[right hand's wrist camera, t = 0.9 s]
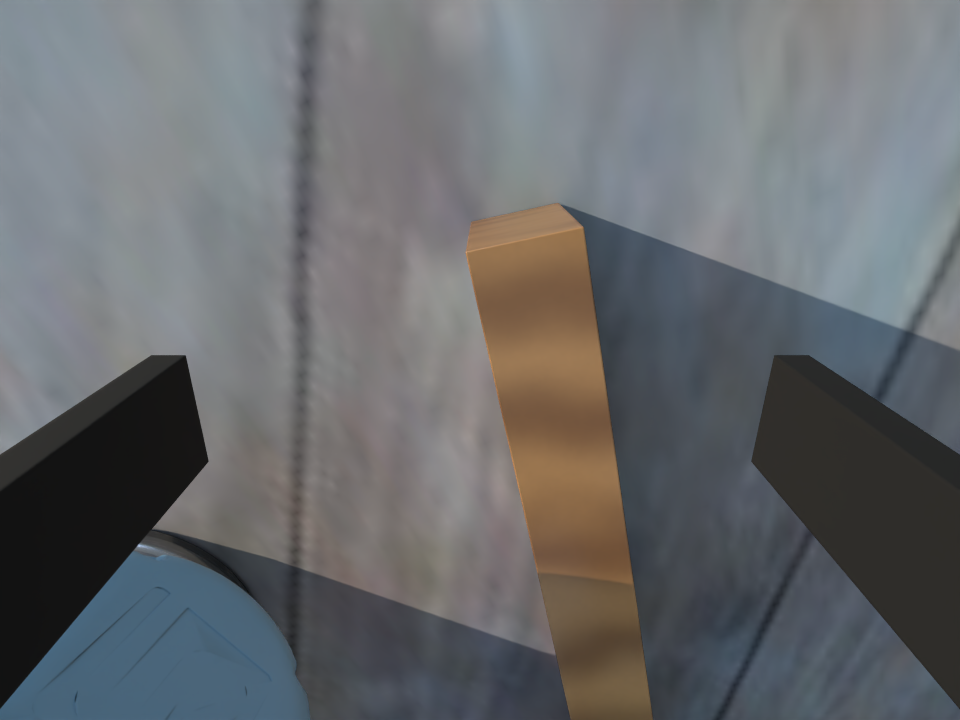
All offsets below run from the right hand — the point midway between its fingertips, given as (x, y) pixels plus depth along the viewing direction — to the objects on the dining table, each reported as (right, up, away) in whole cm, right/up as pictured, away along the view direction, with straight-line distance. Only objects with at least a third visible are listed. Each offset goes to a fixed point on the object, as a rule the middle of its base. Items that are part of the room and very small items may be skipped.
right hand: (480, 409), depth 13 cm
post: (+7, -15, +25) cm, 30 cm away
